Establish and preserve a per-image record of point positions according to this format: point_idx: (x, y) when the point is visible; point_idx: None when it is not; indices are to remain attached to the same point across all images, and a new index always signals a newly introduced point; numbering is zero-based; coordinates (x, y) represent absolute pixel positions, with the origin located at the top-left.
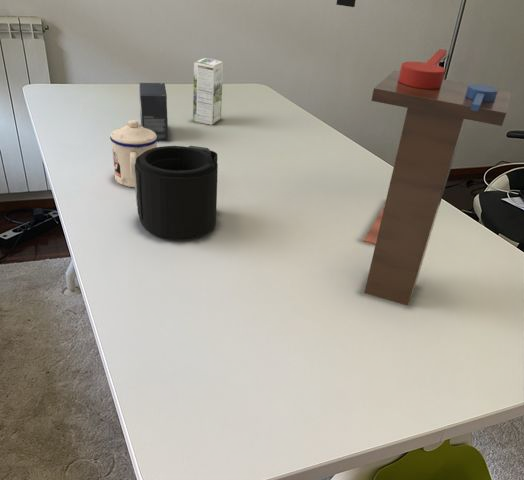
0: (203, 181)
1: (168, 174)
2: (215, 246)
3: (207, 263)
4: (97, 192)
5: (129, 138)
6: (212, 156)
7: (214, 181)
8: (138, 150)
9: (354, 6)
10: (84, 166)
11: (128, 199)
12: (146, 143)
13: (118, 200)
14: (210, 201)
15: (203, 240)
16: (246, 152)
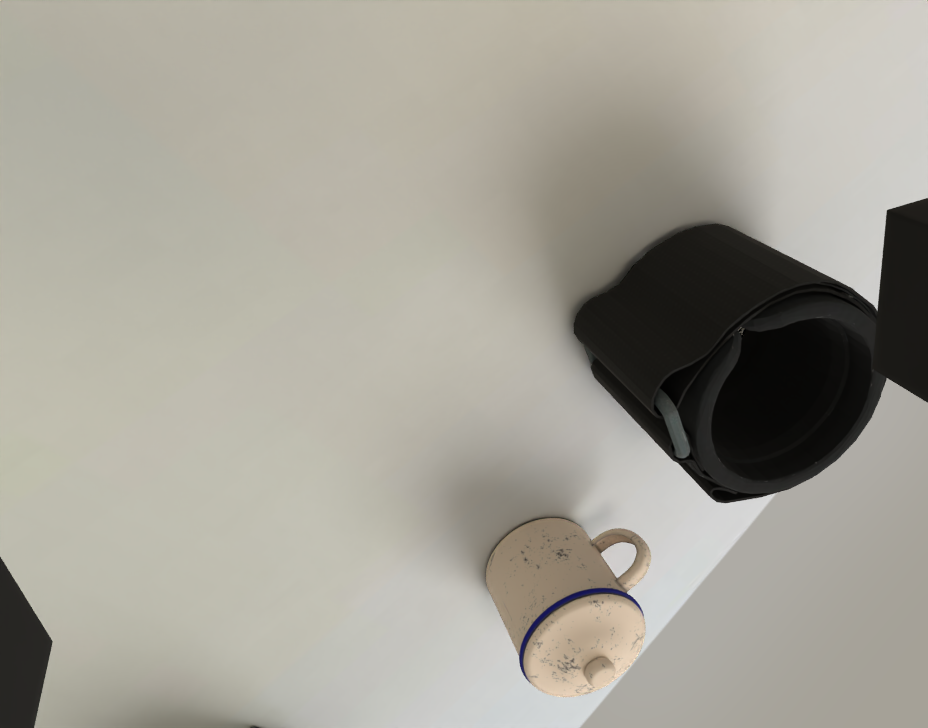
0: (827, 276)
1: None
2: (734, 174)
3: (813, 132)
4: (650, 550)
5: (632, 625)
6: (646, 392)
7: (768, 276)
8: (616, 586)
9: (891, 210)
10: None
11: (640, 487)
12: (605, 593)
13: (657, 495)
14: (755, 253)
15: (722, 217)
16: (101, 556)
